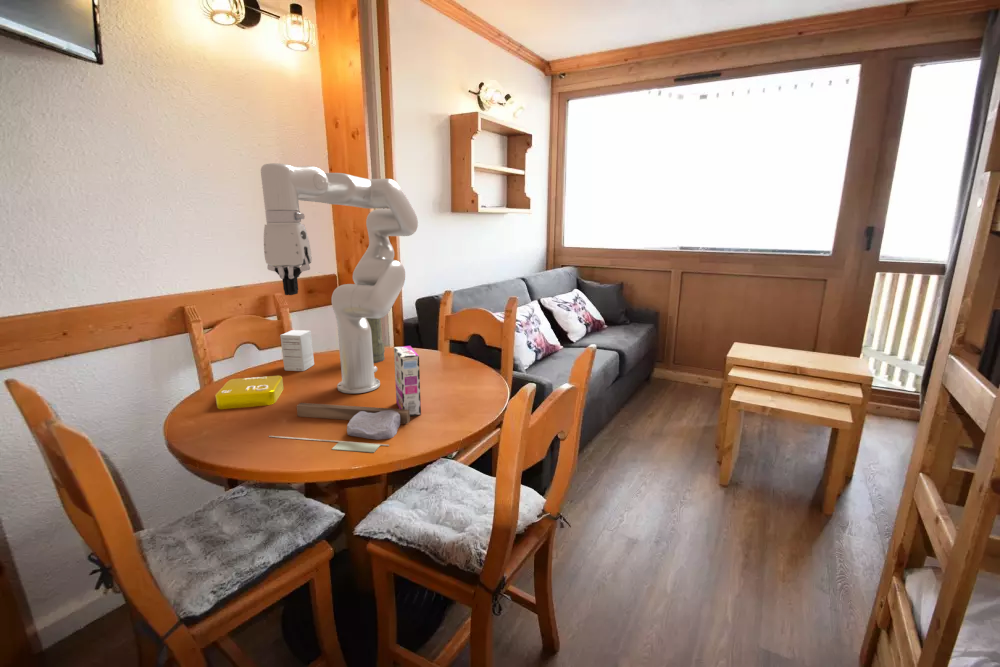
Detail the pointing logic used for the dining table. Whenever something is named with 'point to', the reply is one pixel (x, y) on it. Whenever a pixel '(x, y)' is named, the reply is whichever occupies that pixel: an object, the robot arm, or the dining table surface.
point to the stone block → (374, 424)
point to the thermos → (376, 339)
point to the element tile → (249, 392)
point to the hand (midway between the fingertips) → (291, 294)
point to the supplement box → (297, 350)
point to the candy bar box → (407, 379)
